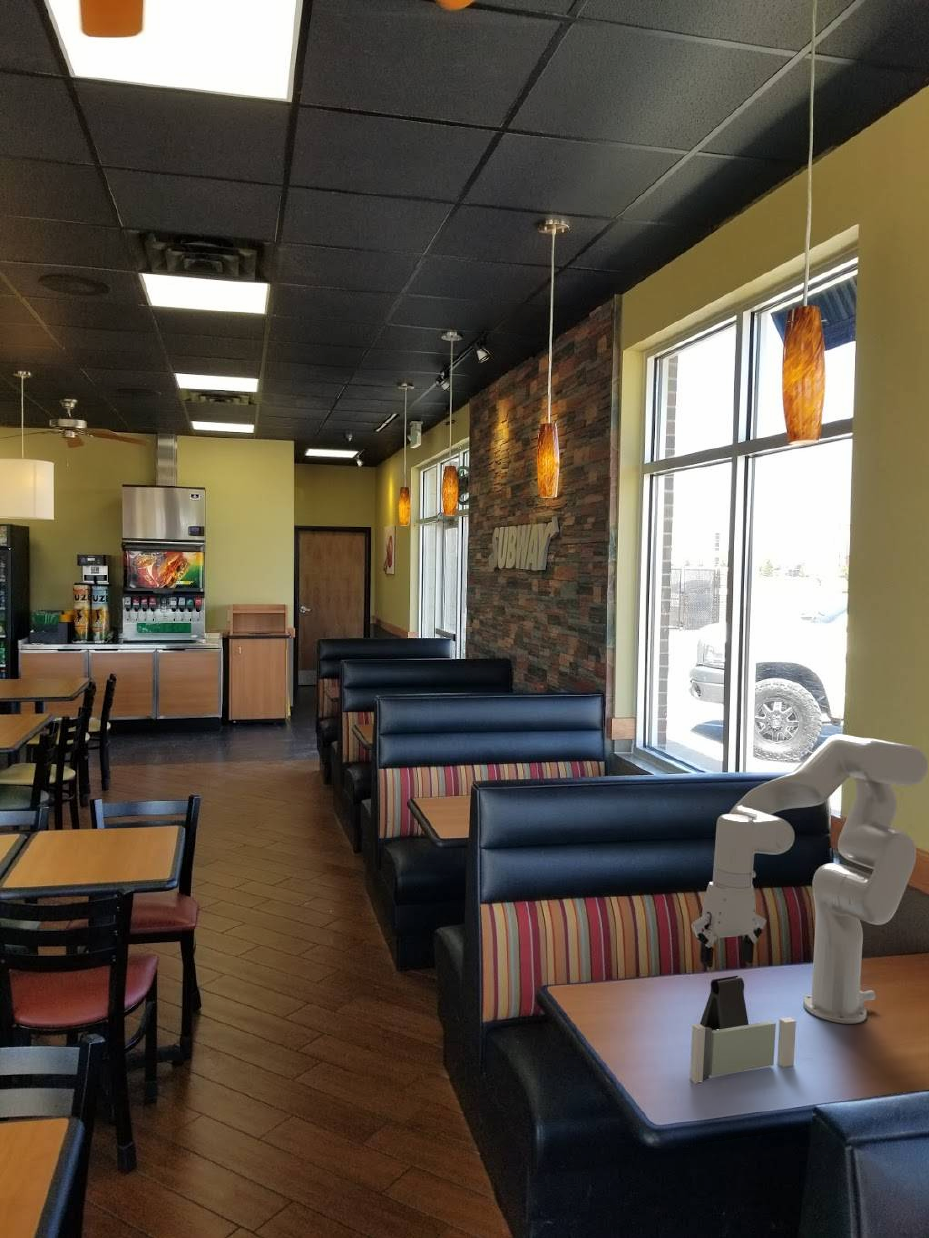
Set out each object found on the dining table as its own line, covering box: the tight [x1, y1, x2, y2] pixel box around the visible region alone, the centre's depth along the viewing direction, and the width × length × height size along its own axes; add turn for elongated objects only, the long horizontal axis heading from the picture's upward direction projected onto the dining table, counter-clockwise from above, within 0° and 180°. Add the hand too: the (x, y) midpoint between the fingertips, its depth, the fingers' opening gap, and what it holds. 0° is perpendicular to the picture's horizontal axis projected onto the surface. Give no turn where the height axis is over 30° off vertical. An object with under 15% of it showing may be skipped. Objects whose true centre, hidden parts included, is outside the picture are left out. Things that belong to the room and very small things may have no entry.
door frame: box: [689, 1016, 797, 1084], centre depth 165 cm, size 22×2×10 cm, turn 111°
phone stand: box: [699, 975, 750, 1031], centre depth 178 cm, size 9×6×12 cm, turn 23°
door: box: [703, 1020, 777, 1080], centre depth 165 cm, size 16×1×9 cm, turn 111°
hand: (726, 962), depth 178 cm, fingers open, 9 cm apart
